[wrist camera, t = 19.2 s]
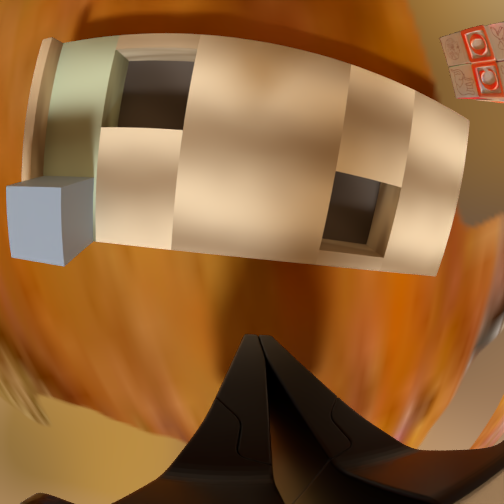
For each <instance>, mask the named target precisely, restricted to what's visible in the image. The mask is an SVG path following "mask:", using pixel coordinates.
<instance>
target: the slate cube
mask: <svg viewBox="0 0 504 504" xmlns="http://www.w3.org/2000/svg"><path fill="white" fill-rule="evenodd" d="M93 191H94V177H71V176H41V177H37V178H33V179H30V180H26V181H22V182H19V183H15V184H12V185H9V186H6V201H7V220H8V232H9V241H10V250H11V257H13V258H19V259H24V260H30V261H36V262H41V263H47V264H53V265H59V266H65V265H66V264H67V263H69V262H70V261H71V260H72V259H73V258H74V257H75V256H77V255H78V254H79V253H80V252H81V251H82V250H83V249H85V248H86V247H87V246H88V245H89V244H91V243H92V242H93Z"/></svg>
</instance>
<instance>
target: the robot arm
mask: <svg viewBox="0 0 504 504" xmlns="http://www.w3.org/2000/svg"><path fill="white" fill-rule="evenodd" d="M20 504H74V503H71V502H68V501H66V500H63V499H60V498H57V497H55V496H52V495H49V494H44V493H36V494H34V495H32V496H31V497H29V498H27V499H26V500H25V501H23V502H21V503H20ZM112 504H504V441H502V442H501V443H499V444H498V445H495V446H492V447H488V448H482V449H471V450H449V451H448V450H447V451H428V450H427V451H426V450H418V449H414V448H411V447H408V446H406V445H404V444H402V443H401V442H399V441H397V440H396V439H394V438H393V437H391V436H390V435H388V434H387V433H385V432H384V431H382V430H381V429H379V428H378V427H376V426H375V425H373V424H372V423H370V422H369V421H367V420H366V419H365V418H363V417H362V416H360V415H359V414H358V413H357V412H355V411H354V410H353V409H352V408H350V407H349V406H348V405H347V404H346V403H344V402H343V401H342V400H341V399H340V398H337V396H336V395H335V394H334V393H333V392H332V391H331V390H330V389H328V388H327V387H326V386H325V385H324V384H323V383H322V382H321V381H319V380H318V379H317V378H316V377H315V376H314V375H313V374H312V373H311V372H310V371H308V370H307V369H306V368H305V367H304V366H303V365H302V364H301V363H300V362H299V361H298V360H296V359H295V358H294V357H293V356H292V355H291V354H290V353H289V352H288V351H287V350H286V349H285V348H284V347H283V346H282V345H280V344H279V343H278V342H277V341H276V340H275V339H274V338H273V337H272V336H270V335H259V336H257V335H253V334H245V335H244V337H243V339H242V341H241V343H240V345H239V348H238V350H237V352H236V354H235V356H234V359H233V361H232V363H231V365H230V367H229V370H228V372H227V374H226V376H225V378H224V381H223V383H222V385H221V387H220V389H219V391H218V393H217V396H216V398H215V400H214V402H213V404H212V406H211V408H210V410H209V412H208V414H207V415H206V417H205V419H204V421H203V422H202V424H201V425H200V427H199V428H198V430H197V431H196V433H195V434H194V436H193V437H192V438H191V440H190V441H189V442H188V444H187V445H186V446H185V448H184V449H183V450H182V452H181V453H180V454H179V455H178V457H177V458H176V459H175V461H174V462H173V463H172V464H171V465H170V467H169V468H168V469H167V470H166V471H165V472H164V473H163V474H162V475H161V476H160V477H158V478H157V479H156V480H154V481H152V482H151V483H149V484H147V485H146V486H144V487H142V488H140V489H138V490H137V491H135V492H133V493H131V494H129V495H128V496H126V497H124V498H122V499H120V500H118V501H116V502H114V503H112Z"/></svg>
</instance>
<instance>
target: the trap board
mask: <svg viewBox="0 0 504 504" xmlns="http://www.w3.org/2000/svg"><path fill="white" fill-rule="evenodd" d="M468 132H469V120H468V119H466V118H465V117H463V116H461V115H460V114H458V113H456V112H455V111H453V110H451V109H449V108H448V107H446V106H444V105H442V104H440V103H439V102H437V101H435V100H433V99H431V98H429V97H427V96H425V95H423V94H421V93H419V92H417V91H415V90H413V89H411V88H409V87H407V86H405V85H402V84H400V83H398V82H396V81H393V80H391V79H389V78H386V77H384V76H381V75H379V74H376V73H374V72H371V71H368V70H366V69H363V68H360V67H357V66H355V65H352V64H349V63H346V62H343V61H340V60H336V59H333V58H330V57H326V56H323V55H319V54H316V53H312V52H308V51H304V50H300V49H296V48H292V47H287V46H282V45H277V44H272V43H267V42H261V41H255V40H249V39H242V38H234V37H225V36H215V35H202V34H181V33H150V34H129V35H117V36H107V37H98V38H91V39H84V40H78V41H73V42H67V43H62V42H60V41H58V40H56V39H55V38H53V37H52V38H48V39H44V40H43V41H42V44H41V48H40V51H39V55H38V59H37V63H36V67H35V71H34V75H33V80H32V85H31V90H30V95H29V101H28V107H27V114H26V122H25V130H24V141H23V155H22V181H26V180H30V179H33V178H37V177H41V176H71V177H94V191H93V241H96V242H105V243H114V244H123V245H132V246H141V247H150V248H160V249H169V250H178V251H187V252H197V253H206V254H216V255H225V256H235V257H244V258H254V259H264V260H274V261H283V262H293V263H303V264H313V265H323V266H333V267H344V268H354V269H364V270H375V271H385V272H396V273H406V274H417V275H428V276H436V275H437V272H438V269H439V266H440V263H441V260H442V257H443V254H444V251H445V247H446V244H447V240H448V237H449V233H450V230H451V226H452V222H453V218H454V214H455V210H456V206H457V201H458V197H459V192H460V187H461V181H462V176H463V170H464V164H465V157H466V150H467V142H468Z"/></svg>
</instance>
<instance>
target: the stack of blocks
mask: <svg viewBox="0 0 504 504" xmlns="http://www.w3.org/2000/svg"><path fill="white" fill-rule="evenodd" d="M440 41H441V44H442V48H443V51H444V54H445V57H446V61H447V64H448V66H449V72H450V76H451V79H452V83H453V88H454V92H455V95H456V98H464V99H475V100H481V101H491V102H499V103H504V22H499V23H495V24H490V25H486V26H484V25H480V26H476V27H472V28H468V29H465V30H462V31H460V32H455V33H453V34H449V35H447V36H443V37H440Z"/></svg>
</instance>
